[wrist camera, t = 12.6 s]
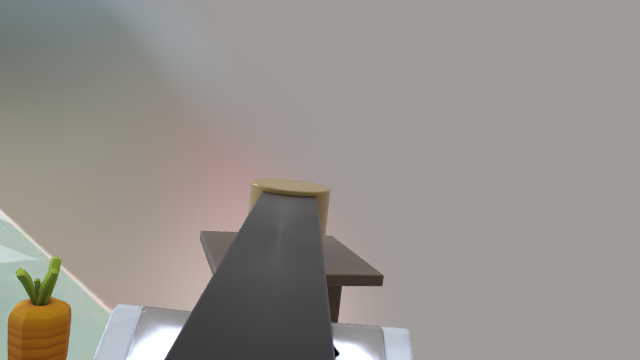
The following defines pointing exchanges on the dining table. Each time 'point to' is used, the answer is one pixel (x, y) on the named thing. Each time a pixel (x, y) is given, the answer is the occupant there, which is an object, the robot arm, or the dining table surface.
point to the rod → (267, 283)
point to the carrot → (39, 320)
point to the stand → (337, 258)
